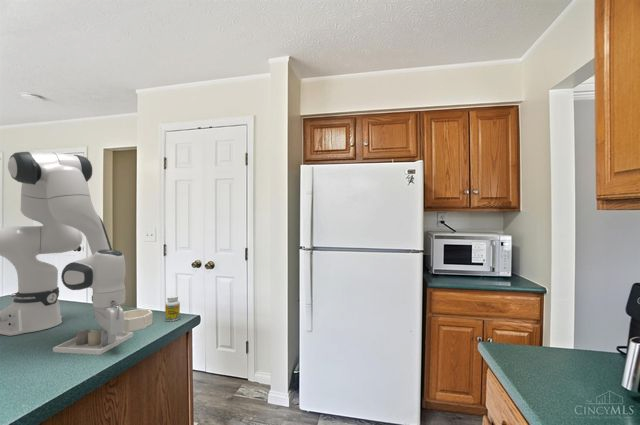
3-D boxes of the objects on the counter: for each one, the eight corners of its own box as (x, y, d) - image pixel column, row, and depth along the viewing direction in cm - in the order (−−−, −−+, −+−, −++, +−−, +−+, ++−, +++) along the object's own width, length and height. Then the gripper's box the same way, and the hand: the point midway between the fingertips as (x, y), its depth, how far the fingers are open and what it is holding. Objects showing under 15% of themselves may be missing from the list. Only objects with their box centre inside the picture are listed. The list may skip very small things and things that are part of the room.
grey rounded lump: (99, 346, 95) (99, 334, 95) (108, 341, 98) (108, 330, 98) (109, 347, 95) (109, 334, 95) (118, 342, 98) (118, 330, 98)
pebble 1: (73, 345, 96) (73, 332, 96) (82, 340, 99) (83, 328, 99) (83, 345, 95) (83, 333, 96) (92, 340, 99) (93, 329, 99)
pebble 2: (84, 345, 95) (85, 333, 95) (94, 341, 99) (94, 329, 99) (95, 346, 95) (95, 334, 95) (104, 341, 99) (104, 329, 99)
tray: (52, 354, 91) (52, 347, 91) (91, 335, 105) (91, 330, 105) (100, 356, 89) (100, 350, 89) (133, 337, 103) (133, 332, 103)
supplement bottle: (178, 316, 126) (179, 294, 126) (180, 320, 121) (180, 297, 122) (164, 318, 123) (165, 295, 123) (165, 322, 118) (166, 299, 119)
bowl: (107, 332, 108) (107, 318, 108) (130, 320, 120) (130, 308, 120) (137, 333, 107) (137, 320, 107) (157, 321, 119) (158, 309, 119)
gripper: (130, 302, 92) (129, 346, 92) (112, 291, 106) (111, 329, 105) (106, 307, 88) (105, 353, 87) (90, 295, 101) (89, 335, 101)
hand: (108, 340), depth 96 cm, fingers closed on grey rounded lump, 3 cm apart
